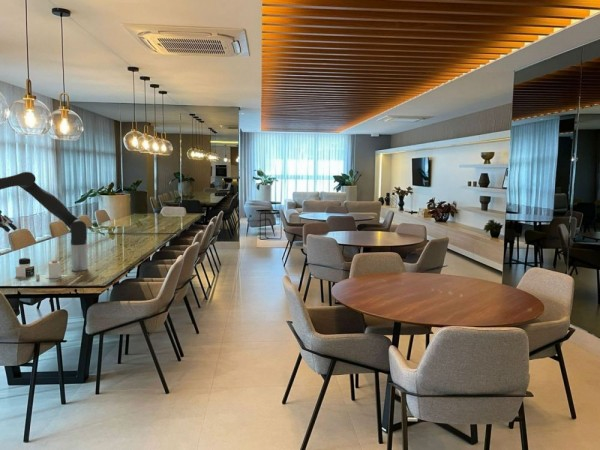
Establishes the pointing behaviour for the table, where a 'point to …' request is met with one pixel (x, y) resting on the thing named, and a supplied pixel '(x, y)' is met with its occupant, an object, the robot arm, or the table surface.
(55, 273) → the white bottle
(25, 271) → the medicine bottle
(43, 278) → the post board
